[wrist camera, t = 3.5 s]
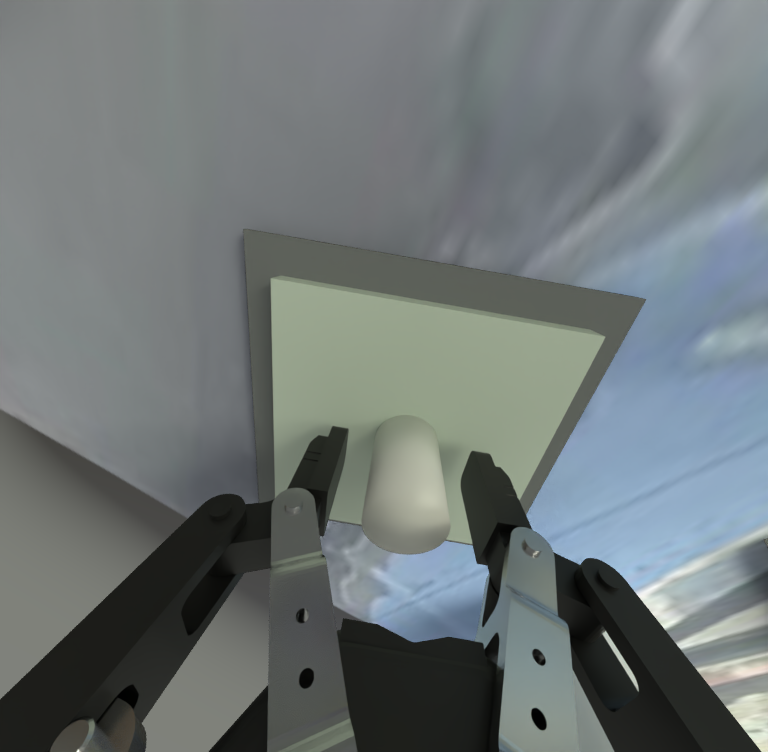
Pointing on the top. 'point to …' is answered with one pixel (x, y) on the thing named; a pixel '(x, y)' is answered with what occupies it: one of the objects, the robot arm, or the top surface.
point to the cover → (415, 400)
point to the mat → (429, 284)
